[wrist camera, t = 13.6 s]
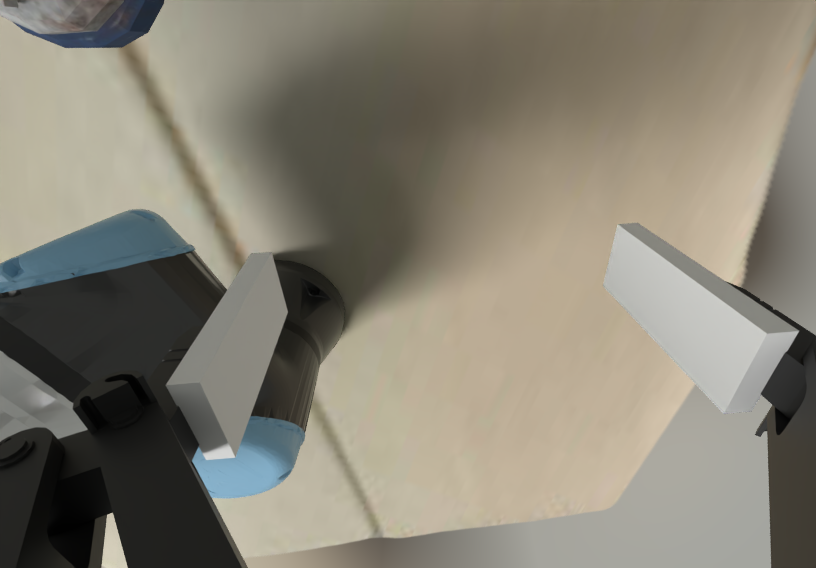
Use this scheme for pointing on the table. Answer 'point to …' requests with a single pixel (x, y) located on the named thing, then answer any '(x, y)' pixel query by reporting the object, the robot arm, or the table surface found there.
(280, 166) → the table surface
